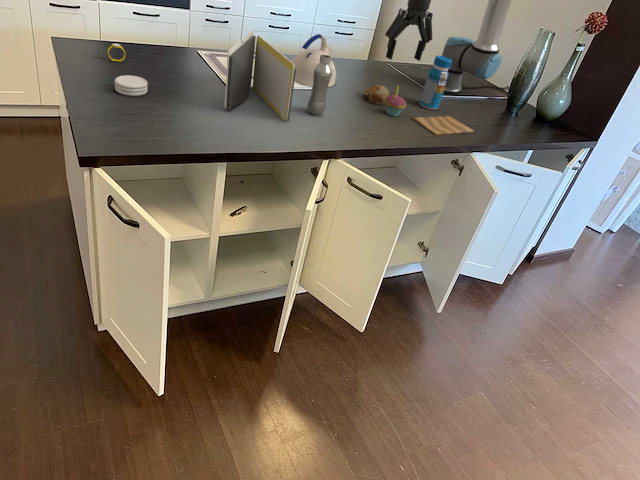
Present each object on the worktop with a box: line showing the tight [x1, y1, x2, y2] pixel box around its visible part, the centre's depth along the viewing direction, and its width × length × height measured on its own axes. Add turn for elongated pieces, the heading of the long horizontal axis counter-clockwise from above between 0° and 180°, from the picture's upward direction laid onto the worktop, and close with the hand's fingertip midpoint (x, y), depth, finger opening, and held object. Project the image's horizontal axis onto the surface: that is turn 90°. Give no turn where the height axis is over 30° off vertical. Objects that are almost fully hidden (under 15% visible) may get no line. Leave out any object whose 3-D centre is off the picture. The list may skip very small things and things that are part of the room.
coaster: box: [114, 75, 149, 97], centre depth 155 cm, size 10×10×4 cm
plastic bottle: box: [307, 55, 332, 116], centre depth 165 cm, size 6×7×20 cm
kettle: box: [291, 33, 337, 88], centre depth 196 cm, size 20×21×18 cm
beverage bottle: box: [419, 55, 452, 111], centre depth 194 cm, size 8×8×20 cm
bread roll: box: [363, 84, 390, 106], centre depth 192 cm, size 10×10×8 cm
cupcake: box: [385, 84, 407, 117], centre depth 181 cm, size 9×8×12 cm
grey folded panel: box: [224, 30, 296, 122], centre depth 161 cm, size 35×22×20 cm, turn 30°
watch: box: [107, 43, 127, 63], centre depth 174 cm, size 6×3×6 cm, turn 114°
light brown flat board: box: [412, 115, 475, 136], centre depth 184 cm, size 20×14×1 cm
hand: (403, 58), depth 175 cm, fingers open, 13 cm apart
